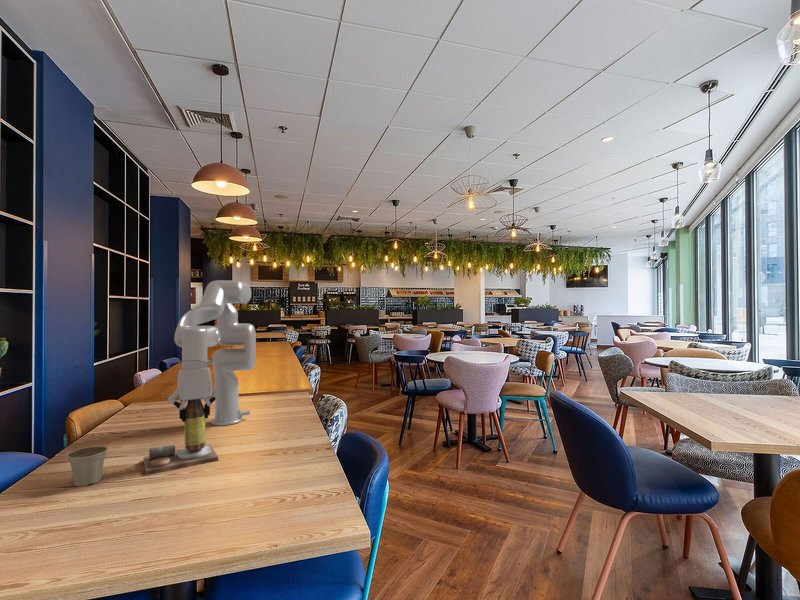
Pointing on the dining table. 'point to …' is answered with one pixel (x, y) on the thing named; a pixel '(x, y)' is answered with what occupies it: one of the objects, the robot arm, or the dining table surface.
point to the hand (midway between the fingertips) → (194, 418)
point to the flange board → (176, 458)
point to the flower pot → (87, 464)
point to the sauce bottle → (194, 425)
